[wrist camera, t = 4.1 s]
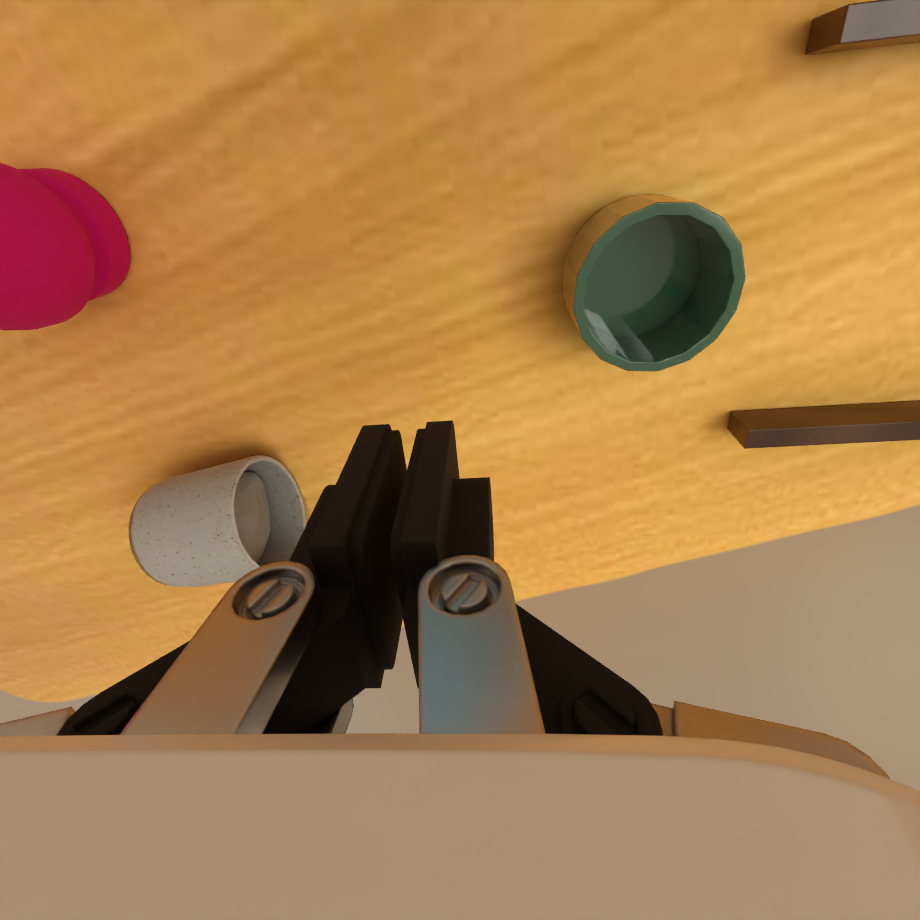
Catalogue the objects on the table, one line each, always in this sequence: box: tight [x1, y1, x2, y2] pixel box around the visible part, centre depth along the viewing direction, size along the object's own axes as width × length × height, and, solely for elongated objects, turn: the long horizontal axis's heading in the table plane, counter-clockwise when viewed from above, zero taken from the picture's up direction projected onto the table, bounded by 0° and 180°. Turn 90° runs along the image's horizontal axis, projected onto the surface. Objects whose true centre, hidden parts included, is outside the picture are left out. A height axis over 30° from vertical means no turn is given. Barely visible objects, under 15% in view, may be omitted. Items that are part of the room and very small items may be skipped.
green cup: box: [562, 195, 745, 371], centre depth 25 cm, size 7×7×5 cm
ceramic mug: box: [129, 455, 306, 587], centre depth 33 cm, size 11×8×8 cm
